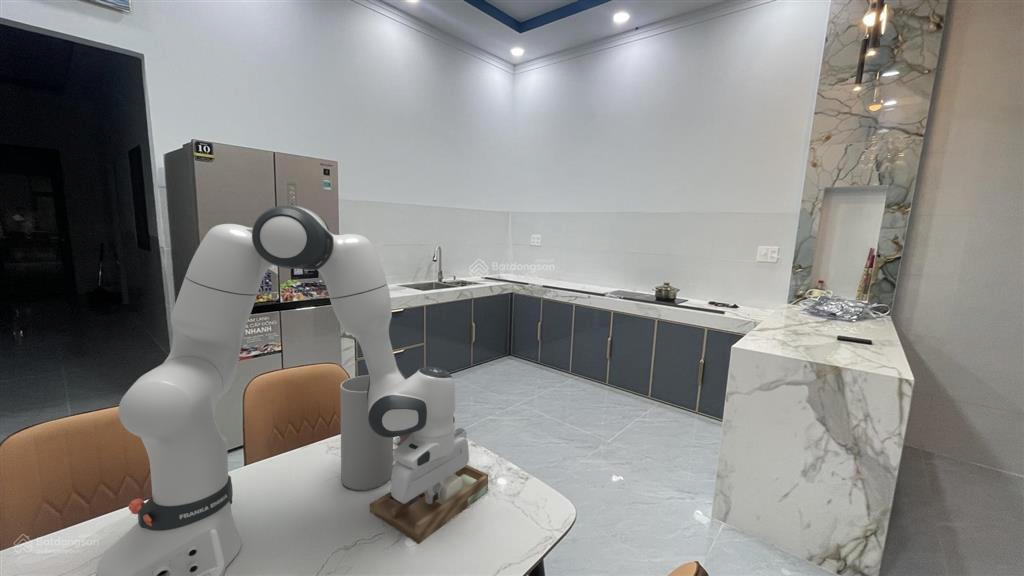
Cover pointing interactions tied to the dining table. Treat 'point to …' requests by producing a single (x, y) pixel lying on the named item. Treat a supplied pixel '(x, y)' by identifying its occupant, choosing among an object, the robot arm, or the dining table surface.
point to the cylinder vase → (362, 440)
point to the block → (450, 488)
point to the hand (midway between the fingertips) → (432, 500)
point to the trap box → (430, 507)
